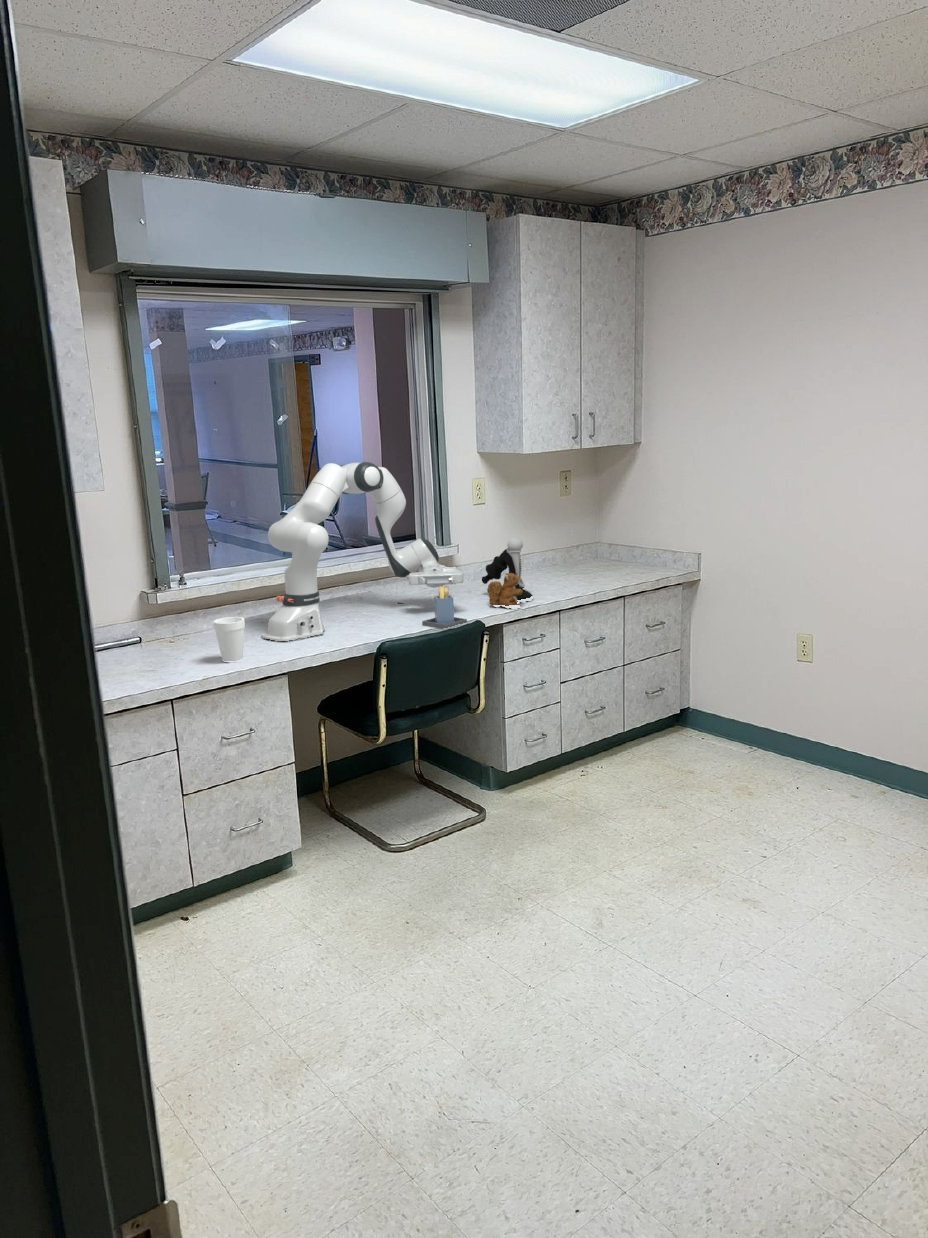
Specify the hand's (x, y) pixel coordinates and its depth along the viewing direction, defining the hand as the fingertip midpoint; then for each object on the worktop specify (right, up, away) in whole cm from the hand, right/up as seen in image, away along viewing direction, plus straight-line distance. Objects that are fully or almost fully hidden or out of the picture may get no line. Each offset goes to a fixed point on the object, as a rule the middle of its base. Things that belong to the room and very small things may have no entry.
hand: (438, 581), depth 334 cm
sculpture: (+26, -6, +37) cm, 46 cm away
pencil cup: (+2, -16, -7) cm, 17 cm away
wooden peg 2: (+4, -15, -7) cm, 17 cm away
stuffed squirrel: (+25, -9, +22) cm, 35 cm away
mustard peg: (+2, -15, -9) cm, 17 cm away
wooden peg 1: (+1, -15, -6) cm, 16 cm away
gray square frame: (+3, -16, -7) cm, 18 cm away
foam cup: (-64, -27, -44) cm, 82 cm away
